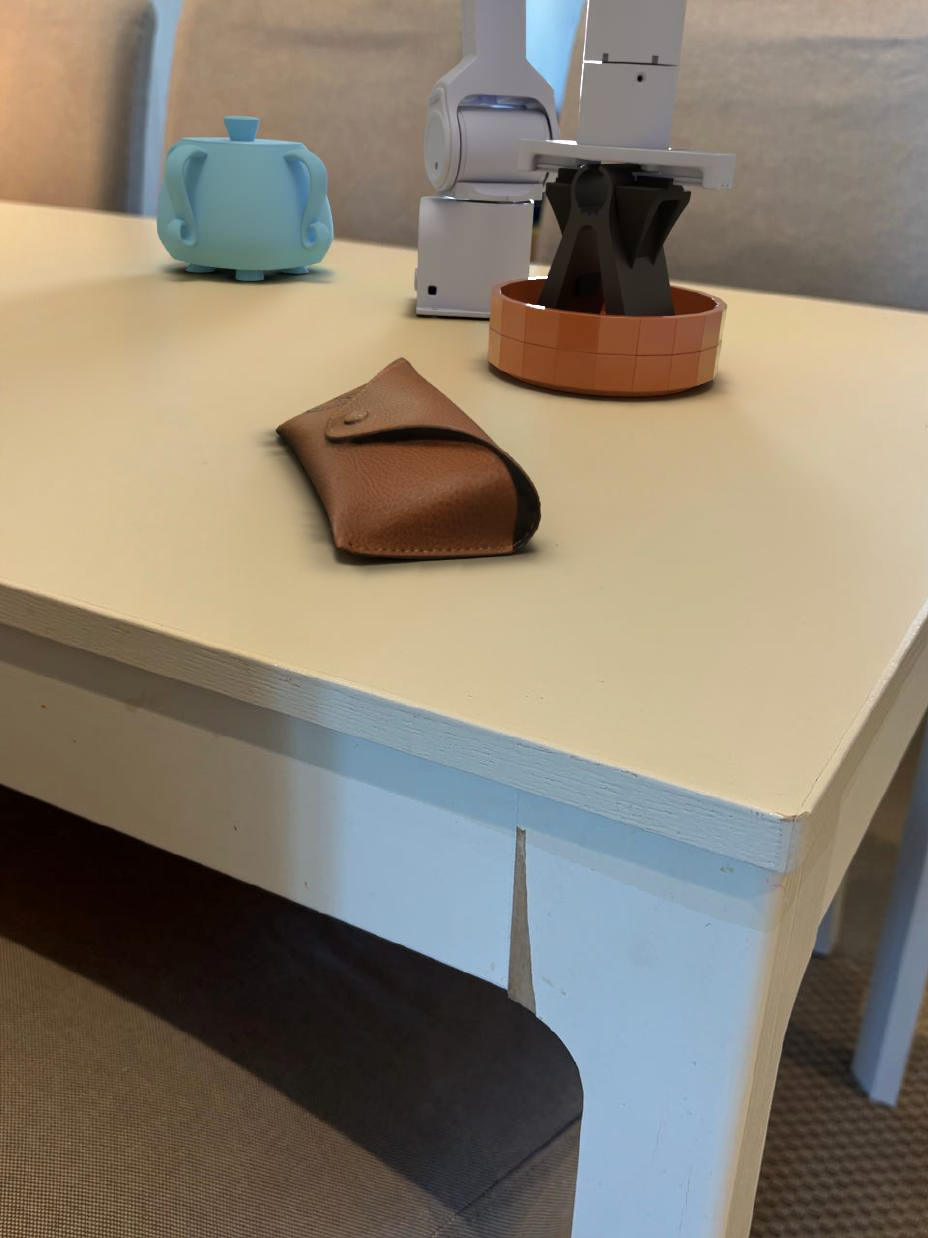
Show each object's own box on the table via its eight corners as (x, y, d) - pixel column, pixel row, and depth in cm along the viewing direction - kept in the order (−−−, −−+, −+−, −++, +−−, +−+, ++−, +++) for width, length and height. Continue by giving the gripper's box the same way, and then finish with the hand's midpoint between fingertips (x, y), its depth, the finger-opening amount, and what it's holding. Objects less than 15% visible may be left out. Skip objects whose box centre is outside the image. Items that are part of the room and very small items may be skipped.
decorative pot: (334, 262, 111) (333, 118, 105) (332, 286, 97) (330, 122, 91) (174, 257, 109) (164, 110, 104) (148, 281, 95) (134, 113, 89)
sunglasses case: (262, 423, 55) (326, 309, 54) (375, 482, 59) (438, 376, 57) (336, 557, 40) (427, 404, 39) (482, 625, 44) (571, 487, 42)
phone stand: (681, 363, 71) (708, 168, 66) (633, 377, 67) (658, 170, 61) (571, 340, 76) (587, 157, 71) (520, 352, 72) (533, 158, 66)
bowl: (486, 394, 65) (491, 310, 63) (487, 342, 79) (491, 271, 76) (735, 406, 65) (748, 323, 63) (693, 352, 78) (703, 282, 76)
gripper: (772, 71, 62) (736, 309, 68) (568, 65, 70) (552, 278, 76) (716, 65, 57) (682, 322, 63) (503, 60, 65) (491, 288, 71)
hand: (607, 299), depth 70 cm, fingers closed on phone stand, 3 cm apart
